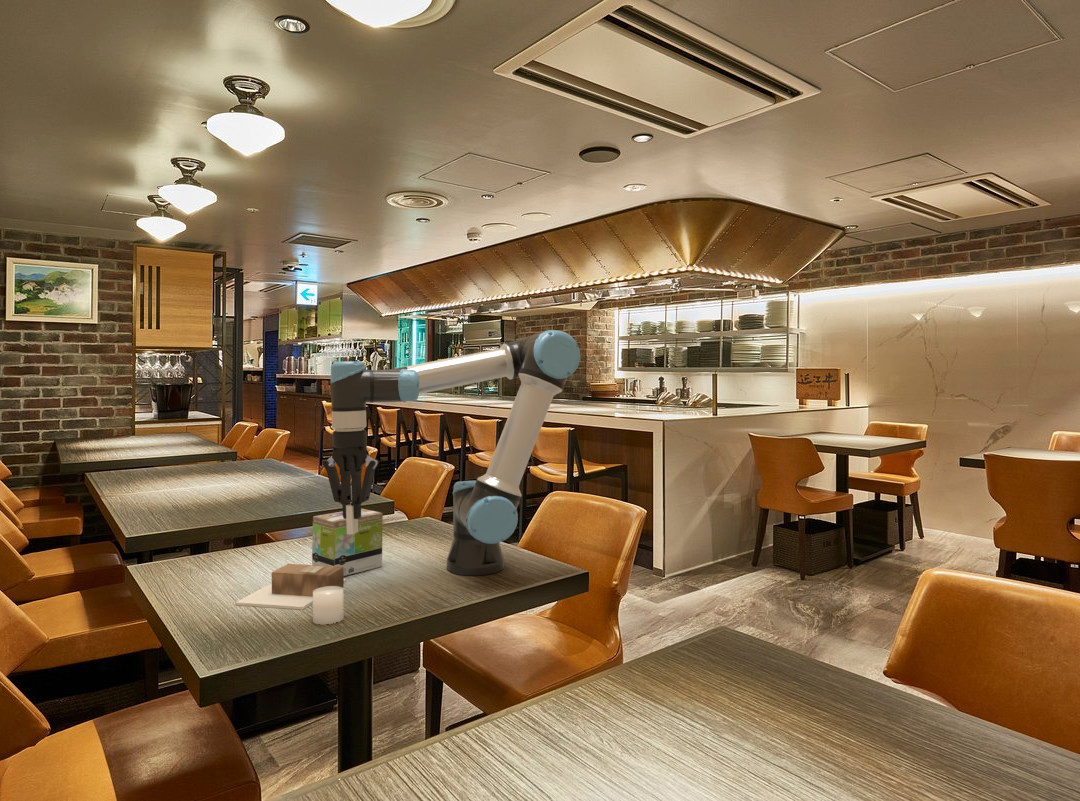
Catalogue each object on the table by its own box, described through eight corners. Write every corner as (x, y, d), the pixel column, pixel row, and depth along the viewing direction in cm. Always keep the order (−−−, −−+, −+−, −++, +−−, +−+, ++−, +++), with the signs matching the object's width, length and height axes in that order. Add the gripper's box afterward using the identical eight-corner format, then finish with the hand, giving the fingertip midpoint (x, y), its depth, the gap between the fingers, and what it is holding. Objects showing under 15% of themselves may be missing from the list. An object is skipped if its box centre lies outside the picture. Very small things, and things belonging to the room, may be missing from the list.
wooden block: (343, 566, 152) (288, 563, 154) (328, 574, 145) (271, 571, 147) (343, 587, 152) (288, 584, 154) (329, 597, 145) (271, 594, 148)
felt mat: (346, 581, 159) (346, 578, 159) (303, 609, 139) (302, 607, 139) (286, 577, 162) (286, 575, 162) (235, 605, 142) (235, 602, 142)
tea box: (335, 580, 159) (334, 521, 159) (311, 573, 166) (310, 515, 165) (383, 566, 171) (383, 511, 171) (359, 560, 177) (359, 506, 177)
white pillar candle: (348, 615, 136) (348, 586, 136) (334, 625, 130) (334, 596, 130) (322, 613, 137) (322, 585, 137) (307, 623, 131) (307, 594, 131)
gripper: (383, 428, 149) (386, 529, 150) (330, 428, 152) (334, 528, 153) (369, 430, 142) (372, 537, 143) (314, 431, 144) (317, 536, 145)
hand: (352, 532), depth 148 cm, fingers closed
